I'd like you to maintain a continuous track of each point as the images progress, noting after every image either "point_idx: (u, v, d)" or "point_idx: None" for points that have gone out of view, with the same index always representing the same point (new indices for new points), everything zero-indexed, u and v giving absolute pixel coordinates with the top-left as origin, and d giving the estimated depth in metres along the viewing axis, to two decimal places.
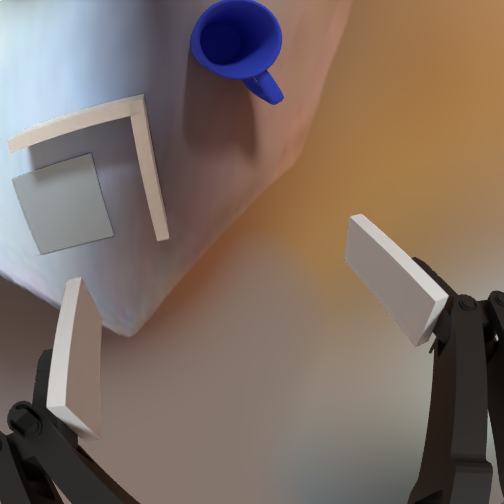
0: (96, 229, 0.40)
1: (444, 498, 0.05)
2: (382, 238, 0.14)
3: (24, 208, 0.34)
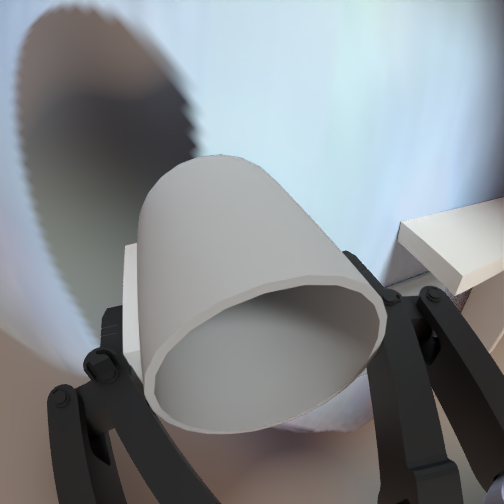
0: None
1: None
2: None
3: None
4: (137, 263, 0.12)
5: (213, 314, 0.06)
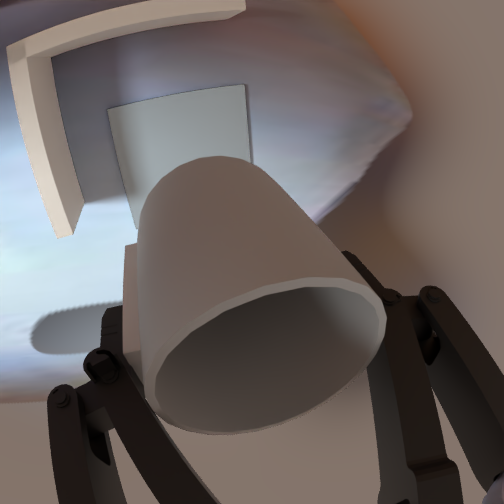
0: (228, 109, 0.26)
1: None
2: None
3: None
4: (137, 264, 0.12)
5: (213, 316, 0.06)
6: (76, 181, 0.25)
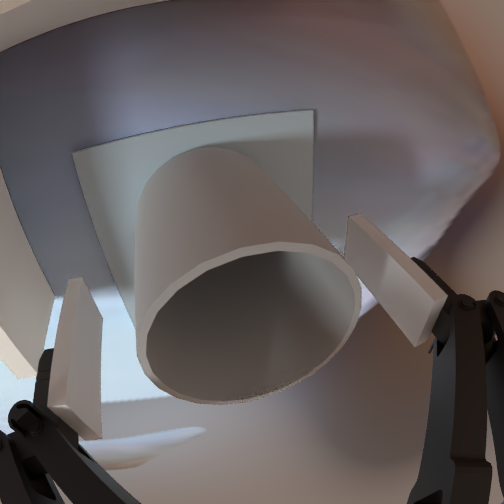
0: (286, 152, 0.16)
1: (444, 498, 0.05)
2: (381, 238, 0.14)
3: None
4: (135, 245, 0.13)
5: (197, 275, 0.07)
6: (36, 270, 0.15)
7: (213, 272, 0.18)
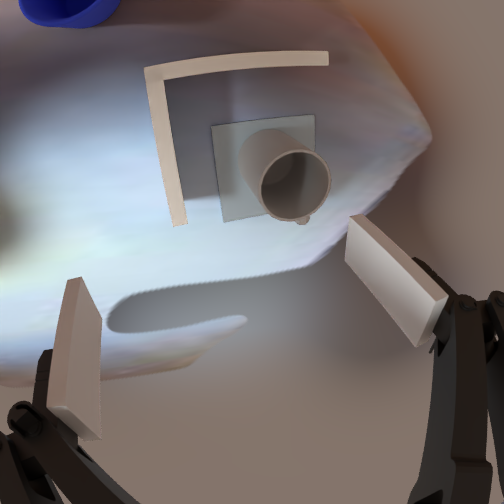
0: (302, 133, 0.35)
1: (444, 498, 0.05)
2: (382, 238, 0.14)
3: (259, 212, 0.40)
4: (244, 163, 0.32)
5: (281, 156, 0.27)
6: None
7: (268, 187, 0.37)
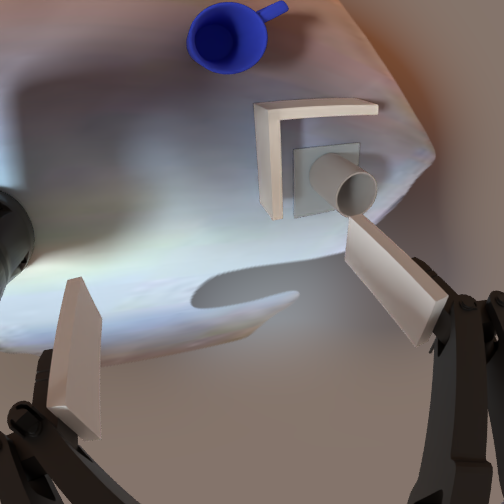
0: (351, 156, 0.50)
1: (444, 498, 0.05)
2: (382, 238, 0.14)
3: (318, 211, 0.54)
4: (318, 177, 0.46)
5: (351, 176, 0.41)
6: None
7: None
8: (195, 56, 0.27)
